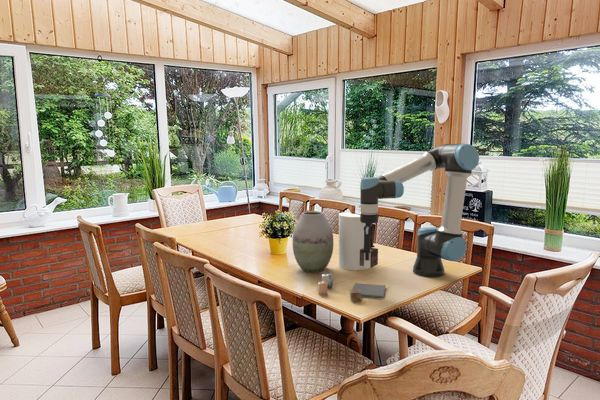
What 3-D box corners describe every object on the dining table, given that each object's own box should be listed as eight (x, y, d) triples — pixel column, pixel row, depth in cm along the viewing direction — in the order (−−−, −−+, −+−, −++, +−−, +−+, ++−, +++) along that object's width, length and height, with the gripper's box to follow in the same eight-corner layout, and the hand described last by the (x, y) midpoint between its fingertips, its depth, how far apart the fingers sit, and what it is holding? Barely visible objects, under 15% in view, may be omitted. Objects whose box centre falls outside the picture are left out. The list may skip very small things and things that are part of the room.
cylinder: (352, 272, 215) (352, 218, 212) (332, 264, 230) (332, 213, 226) (377, 266, 225) (378, 214, 221) (356, 259, 239) (357, 210, 235)
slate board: (385, 287, 192) (385, 285, 191) (383, 298, 178) (383, 296, 178) (354, 285, 195) (354, 283, 195) (350, 296, 182) (350, 293, 182)
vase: (299, 262, 235) (298, 209, 231) (337, 265, 228) (337, 210, 224) (287, 273, 214) (286, 215, 210) (328, 277, 208) (328, 217, 204)
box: (366, 262, 189) (366, 246, 188) (378, 264, 186) (378, 248, 185) (359, 265, 185) (359, 249, 184) (371, 268, 181) (371, 251, 180)
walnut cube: (359, 298, 179) (359, 289, 179) (360, 302, 175) (361, 292, 175) (350, 298, 180) (350, 289, 179) (351, 302, 176) (351, 292, 175)
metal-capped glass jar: (333, 285, 196) (333, 273, 195) (331, 289, 191) (331, 276, 190) (323, 284, 197) (323, 272, 196) (320, 288, 192) (320, 275, 191)
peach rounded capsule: (328, 292, 187) (328, 281, 186) (326, 295, 183) (326, 284, 182) (319, 291, 188) (319, 281, 187) (317, 295, 184) (317, 283, 183)
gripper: (363, 209, 193) (362, 257, 196) (356, 216, 173) (356, 270, 176) (380, 209, 191) (379, 258, 194) (375, 217, 171) (374, 272, 174)
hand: (368, 264), depth 185 cm, fingers closed on box, 8 cm apart
